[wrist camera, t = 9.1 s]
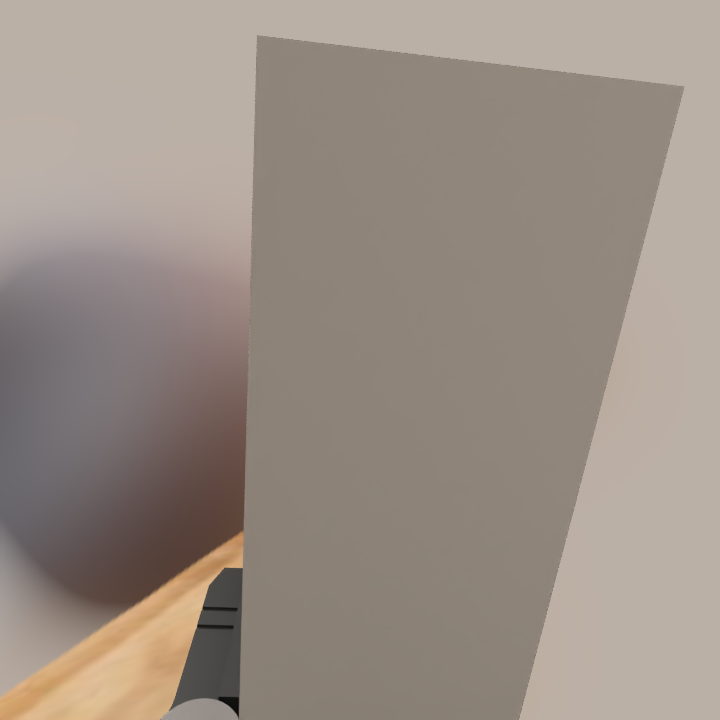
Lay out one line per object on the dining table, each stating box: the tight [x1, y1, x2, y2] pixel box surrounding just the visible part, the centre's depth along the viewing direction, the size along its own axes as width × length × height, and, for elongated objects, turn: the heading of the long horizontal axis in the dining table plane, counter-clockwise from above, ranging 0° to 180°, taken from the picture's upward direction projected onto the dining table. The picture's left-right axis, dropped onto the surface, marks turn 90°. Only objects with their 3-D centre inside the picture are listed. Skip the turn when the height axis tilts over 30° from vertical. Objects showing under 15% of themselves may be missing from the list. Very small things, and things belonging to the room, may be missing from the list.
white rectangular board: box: [239, 35, 684, 720], centre depth 11 cm, size 9×2×22 cm, turn 3°
